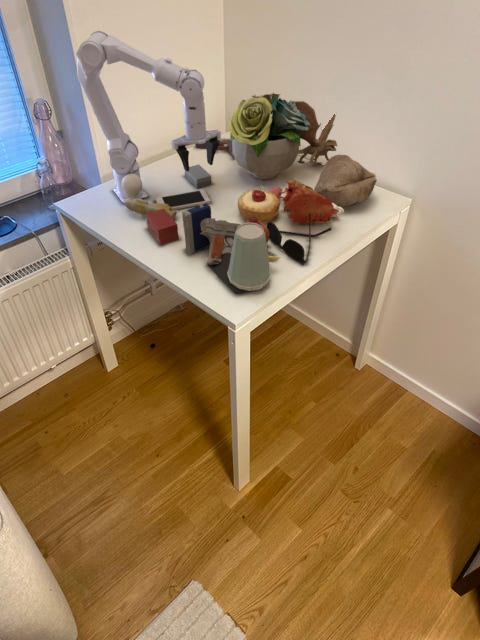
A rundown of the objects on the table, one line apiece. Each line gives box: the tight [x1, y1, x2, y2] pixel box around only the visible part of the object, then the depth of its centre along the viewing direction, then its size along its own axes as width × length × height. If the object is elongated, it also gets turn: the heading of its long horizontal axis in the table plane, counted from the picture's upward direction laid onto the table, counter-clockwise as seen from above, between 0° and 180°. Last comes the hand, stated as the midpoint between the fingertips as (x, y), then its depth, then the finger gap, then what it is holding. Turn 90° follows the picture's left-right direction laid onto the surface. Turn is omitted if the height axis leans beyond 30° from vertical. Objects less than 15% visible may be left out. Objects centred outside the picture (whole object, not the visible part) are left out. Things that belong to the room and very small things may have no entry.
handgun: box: [194, 137, 235, 159], centre depth 171 cm, size 3×19×12 cm
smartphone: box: [155, 189, 211, 211], centre depth 147 cm, size 7×15×1 cm, turn 109°
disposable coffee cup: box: [227, 221, 272, 292], centre depth 114 cm, size 11×11×15 cm
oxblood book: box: [145, 209, 179, 236], centre depth 132 cm, size 9×6×2 cm, turn 30°
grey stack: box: [184, 164, 213, 189], centre depth 157 cm, size 9×5×3 cm, turn 30°
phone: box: [207, 251, 247, 295], centre depth 122 cm, size 7×1×15 cm
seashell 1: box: [282, 177, 338, 225], centre depth 133 cm, size 17×11×15 cm
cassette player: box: [181, 203, 212, 255], centre depth 126 cm, size 7×2×12 cm, turn 125°
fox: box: [268, 254, 282, 263], centre depth 121 cm, size 12×9×2 cm
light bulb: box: [122, 174, 143, 199], centre depth 143 cm, size 6×6×10 cm
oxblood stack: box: [146, 220, 180, 246], centre depth 134 cm, size 9×6×3 cm, turn 30°
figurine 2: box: [267, 186, 289, 213], centre depth 145 cm, size 12×3×7 cm
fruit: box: [245, 217, 270, 244], centre depth 126 cm, size 8×8×10 cm
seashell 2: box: [313, 154, 378, 207], centre depth 144 cm, size 16×17×15 cm
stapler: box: [331, 203, 345, 219], centre depth 139 cm, size 13×5×2 cm
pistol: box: [200, 217, 242, 266], centre depth 128 cm, size 19×2×12 cm
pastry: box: [237, 183, 281, 224], centre depth 139 cm, size 12×12×9 cm
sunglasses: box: [266, 213, 332, 265], centre depth 130 cm, size 17×14×5 cm
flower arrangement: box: [228, 91, 310, 180], centre depth 151 cm, size 25×25×24 cm
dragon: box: [293, 100, 338, 166], centre depth 160 cm, size 17×25×19 cm
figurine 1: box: [124, 198, 178, 220], centre depth 140 cm, size 5×5×15 cm
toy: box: [267, 245, 275, 256], centre depth 129 cm, size 1×8×2 cm
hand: (198, 166), depth 143 cm, fingers open, 7 cm apart
